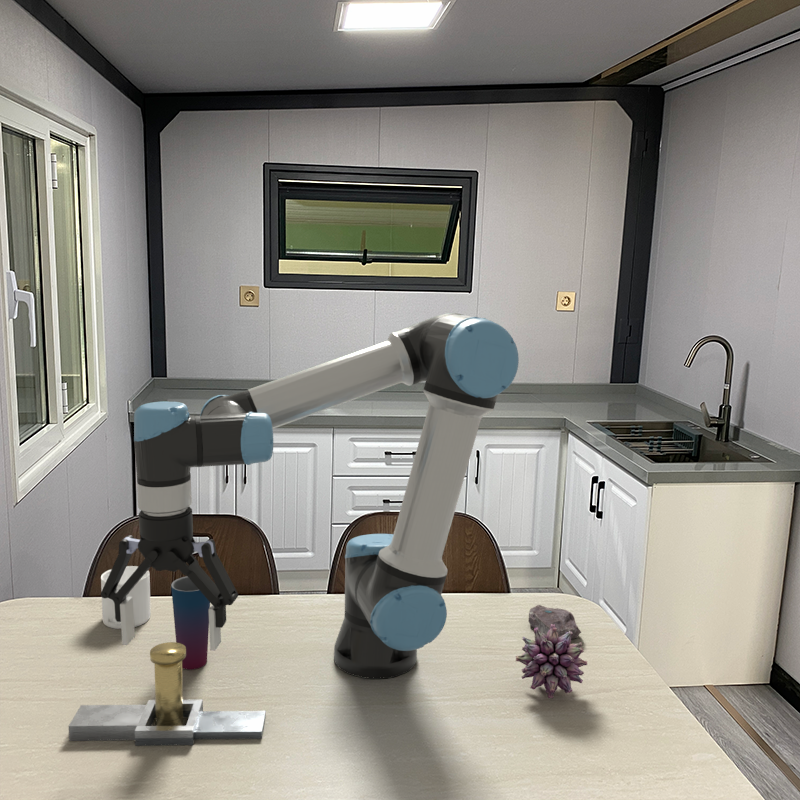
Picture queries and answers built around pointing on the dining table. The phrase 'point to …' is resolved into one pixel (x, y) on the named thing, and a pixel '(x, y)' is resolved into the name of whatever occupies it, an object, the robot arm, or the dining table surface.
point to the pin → (168, 683)
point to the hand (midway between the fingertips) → (171, 643)
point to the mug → (138, 593)
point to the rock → (553, 620)
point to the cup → (191, 621)
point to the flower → (552, 661)
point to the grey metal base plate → (139, 720)
